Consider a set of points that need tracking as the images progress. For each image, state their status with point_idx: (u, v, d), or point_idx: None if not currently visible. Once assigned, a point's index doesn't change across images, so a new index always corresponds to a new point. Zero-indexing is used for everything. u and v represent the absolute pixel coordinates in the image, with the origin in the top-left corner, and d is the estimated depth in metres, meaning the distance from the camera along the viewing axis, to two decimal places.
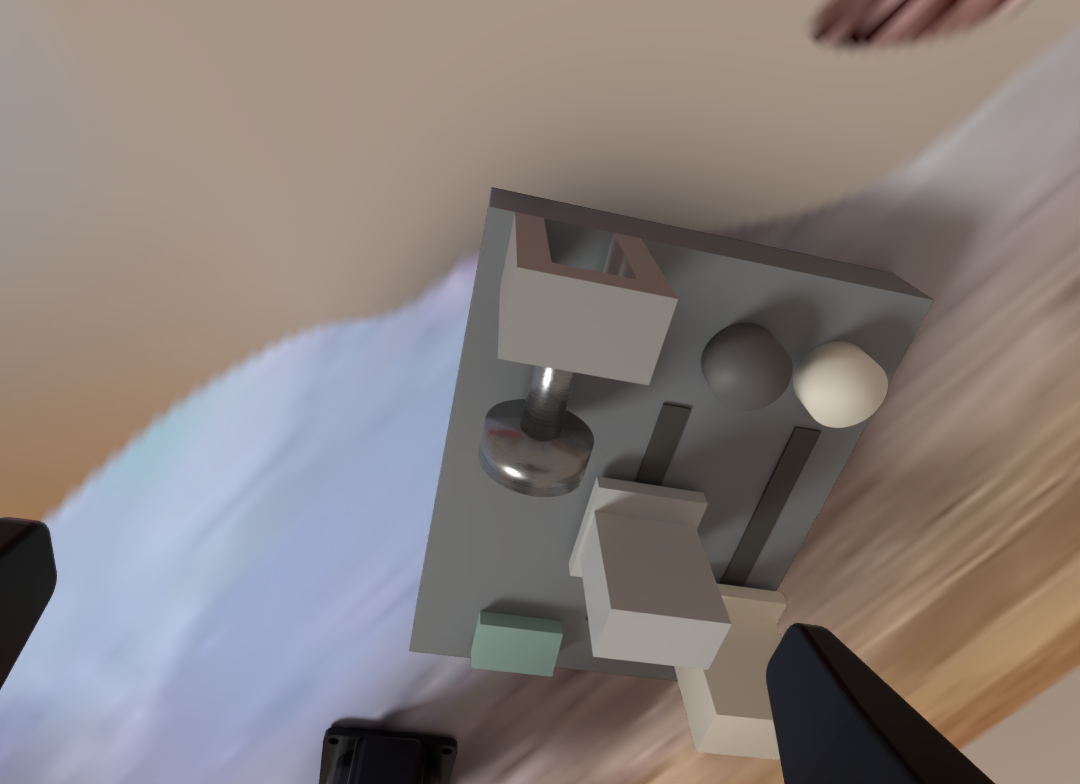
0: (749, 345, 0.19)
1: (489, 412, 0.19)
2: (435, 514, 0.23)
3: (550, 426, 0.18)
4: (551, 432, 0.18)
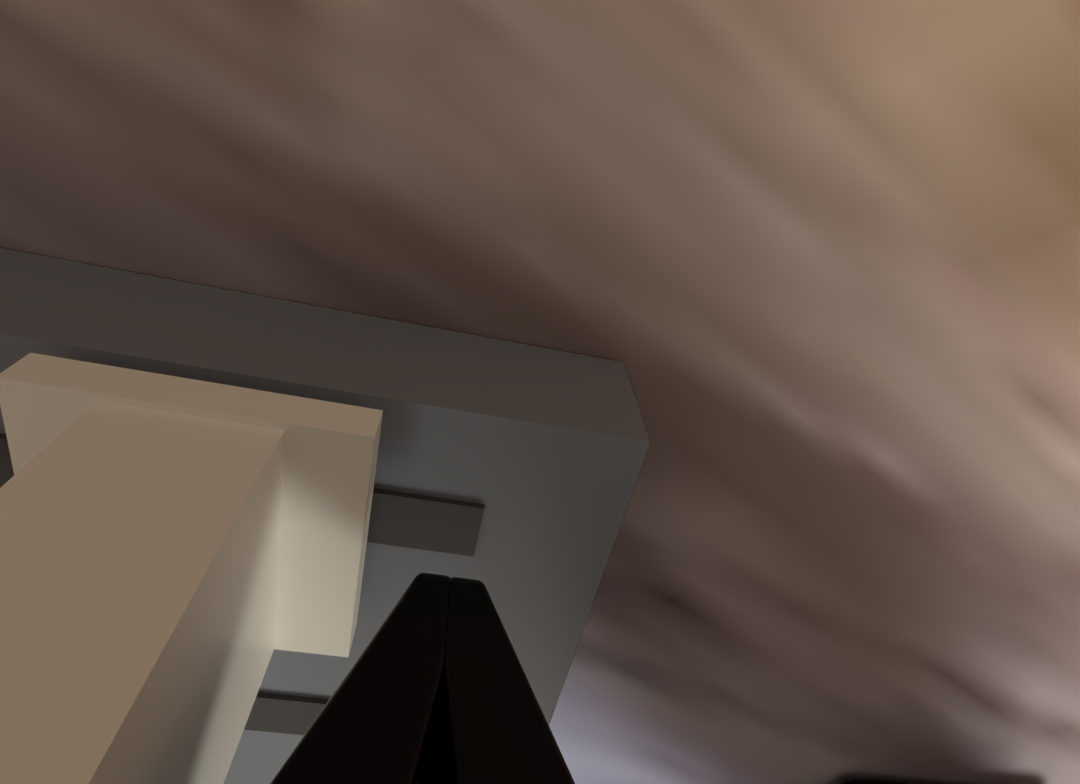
0: None
1: None
2: None
3: None
4: None
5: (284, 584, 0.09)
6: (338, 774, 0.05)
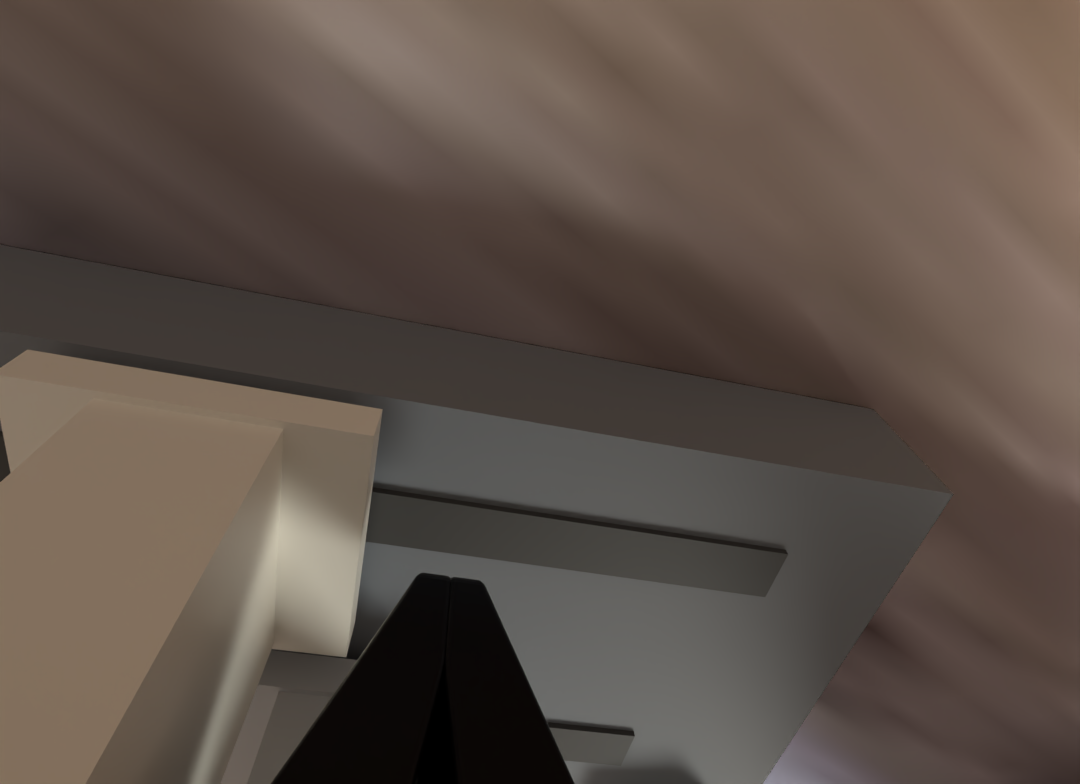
0: None
1: None
2: None
3: None
4: None
5: (282, 582, 0.09)
6: (339, 774, 0.05)
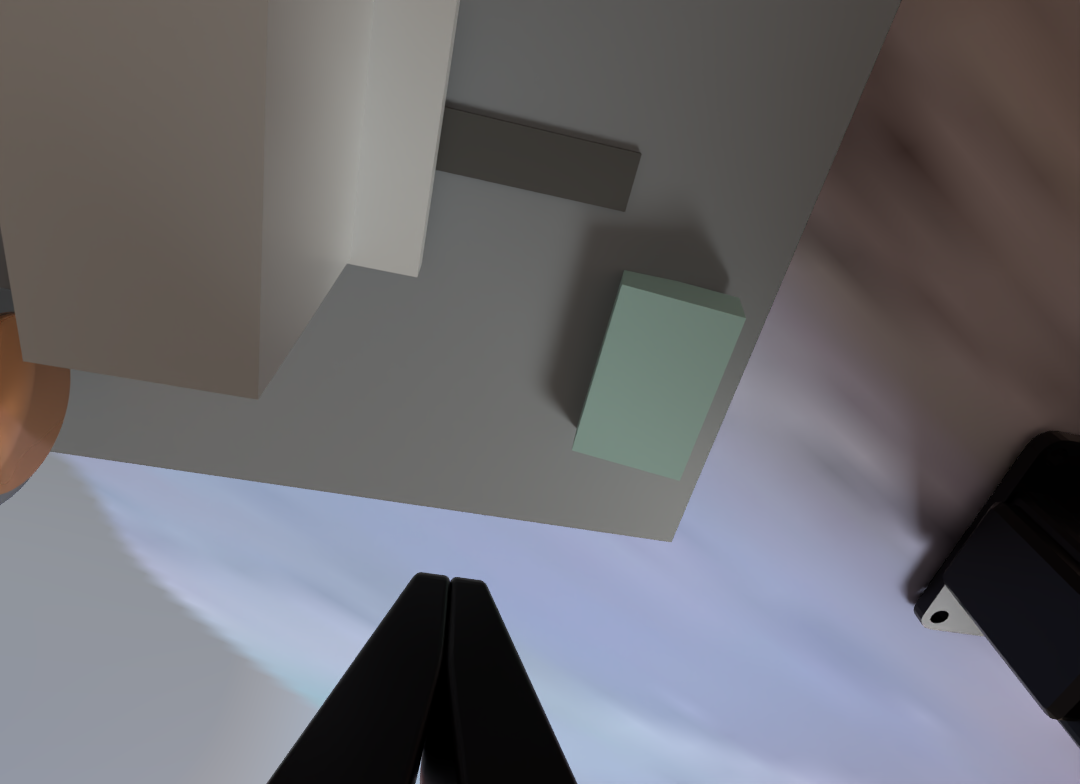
0: None
1: None
2: (329, 490, 0.13)
3: None
4: None
5: None
6: (335, 774, 0.05)
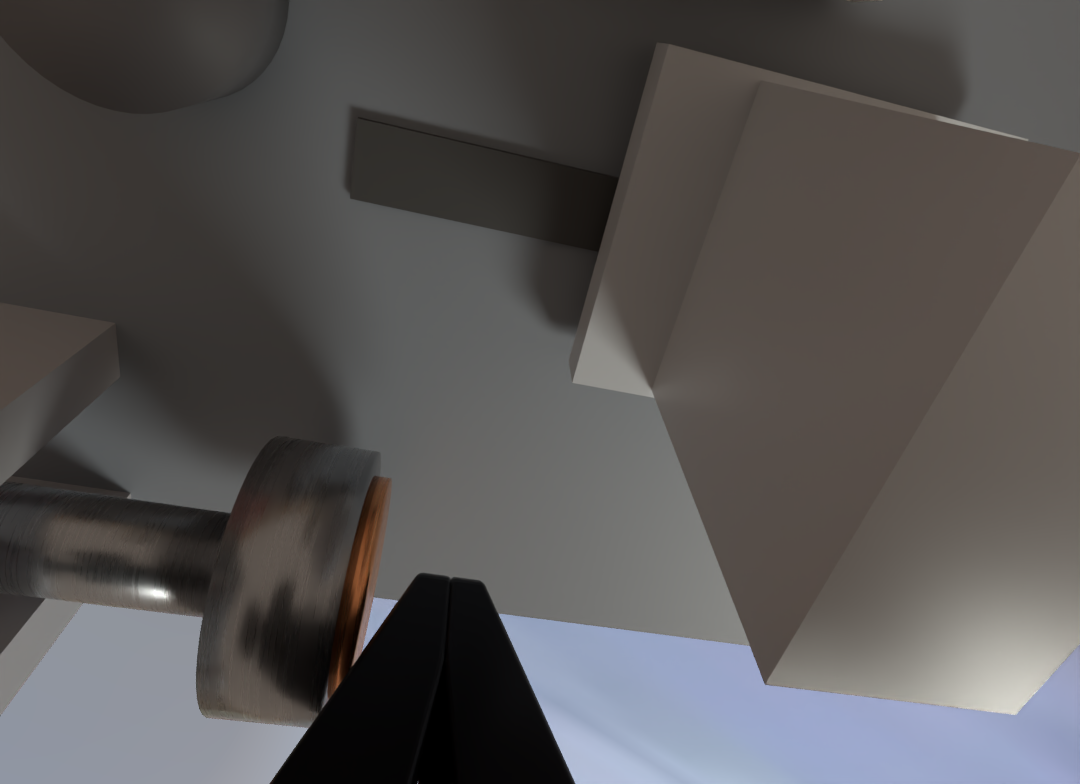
0: None
1: None
2: (653, 631, 0.12)
3: (190, 588, 0.07)
4: None
5: None
6: (338, 774, 0.05)
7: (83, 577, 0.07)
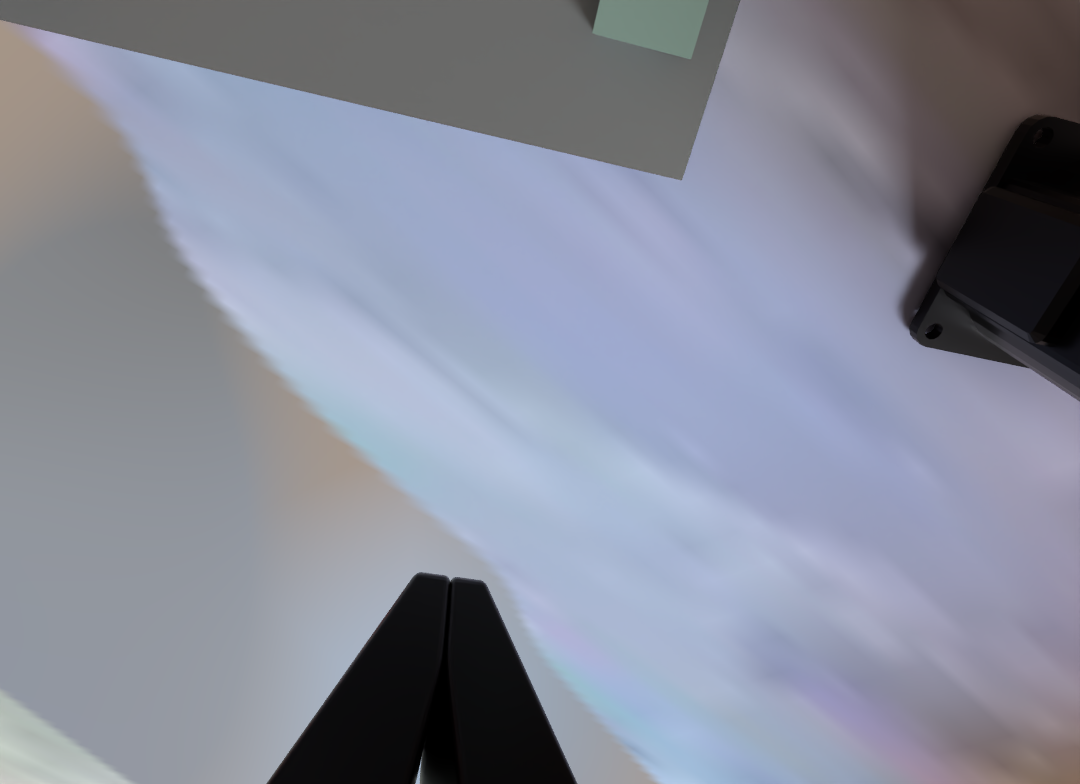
0: None
1: None
2: (367, 103, 0.14)
3: None
4: None
5: None
6: (335, 774, 0.05)
7: None
